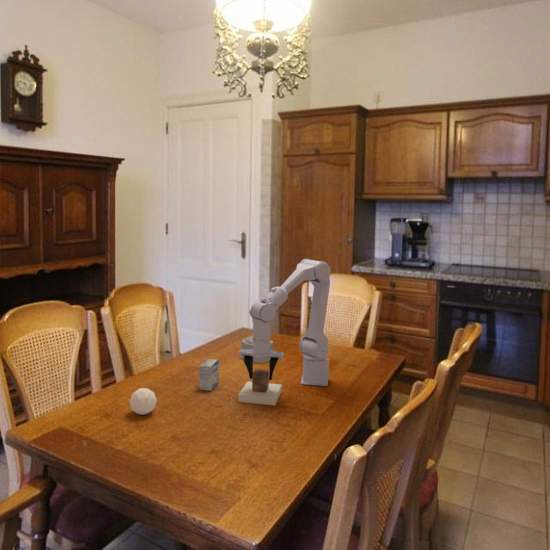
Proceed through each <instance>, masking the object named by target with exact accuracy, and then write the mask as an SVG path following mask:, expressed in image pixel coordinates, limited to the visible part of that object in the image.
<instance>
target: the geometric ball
mask: <svg viewBox="0 0 550 550" xmlns="http://www.w3.org/2000/svg"><path fill="white" fill-rule="evenodd" d="M157 401H158V399H157V397H156V393H155V392H154V391H152V390H150V389H149V388H148V387H147V388H145V387H141V388H138V389H136V391H134V392H133V393H131V396H130V399H129V405H130V409H131V410H132V411H133V412H134V413H136V414H138V415H142V416H143V415H148V414H149V413H150V412H152V411H153V410H154V409H155V408H156V404H157Z"/></svg>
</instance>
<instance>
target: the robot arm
mask: <svg viewBox="0 0 550 550" xmlns="http://www.w3.org/2000/svg"><path fill="white" fill-rule="evenodd" d="M331 270H332V269H331V267H330V265H329V264H328V262H326V261H321V260H313V259H309V258H304V259H302V260H301V261H300V262H299V263H297V264H296V268H295V270H294V271H293V272H292V273H291V274H290V275H289V276H288V278H287V279H285V281H284V282H283V283H282V284H281V285H280V286H274V287H272V288H271V289H270V291H269V292H268V293H267V294H266V295H264V297H261V299H260V300H259V301H255V302H254V303H252V305H251V307H250V310H248V311H249V315H250V317H251V320H252V321H251V323H252V336H253V349H247V350H242V348H241V349H239V350H238V357H239V358H242V356H244V359H242V361H243V363H244V366H246V369H247V372H248V377H249V379H250V380H252V374H253V372H254V362H253V357H260V358H271V359H270V360H269V361H268V363H269V364H268V365H269V381H272V380H273V375H274V372H275V368H276V365H277V363H278V361H279V360H280V361H281V360H284V358H285V357H284V356H285V355H284V354H285V353H284V352H283V351H276V350H273V351H272V350H270V340H271V328H272V327H271V326H272V324H271V322H272V321H271V320H273V319H274V317H275V315H276V312H277V310H278V309H279V308H280V307H281V306H282V305H283V304H284V303H285V302H286V301H287V300H288V297H289V296H288V294H289V293H291V292H292V291H293V290H294V289H295V288H296V287H297V286H299V285H300V284H302V283H303V282H304V281H309V282H310V283H311V285H312V286H313V293H312V299H311V306H310V313H309V320H308V326H307V327H308V328H307V330H306V331H304V332H303V333H302V336H301V337H302V338H301V340H300V341H299V346H298V348H299V351H300V353H301V354H302V357H303V360H302V363H303V364H302V376H301V380H300V384H301V385H306V386H307V385H309V386H321V387H324V386H325V387H328V385H329V380H330V371H329V370H330V359H329V358H327V356H328V354H329V350H330V347H329V339H328V337H327V335H326V334H325V333H324V329H325V324H326V323H325V322H326V316H327V315H326V314H327V309H328V301H329V295H330V288H331V278H330V277H331Z"/></svg>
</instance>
